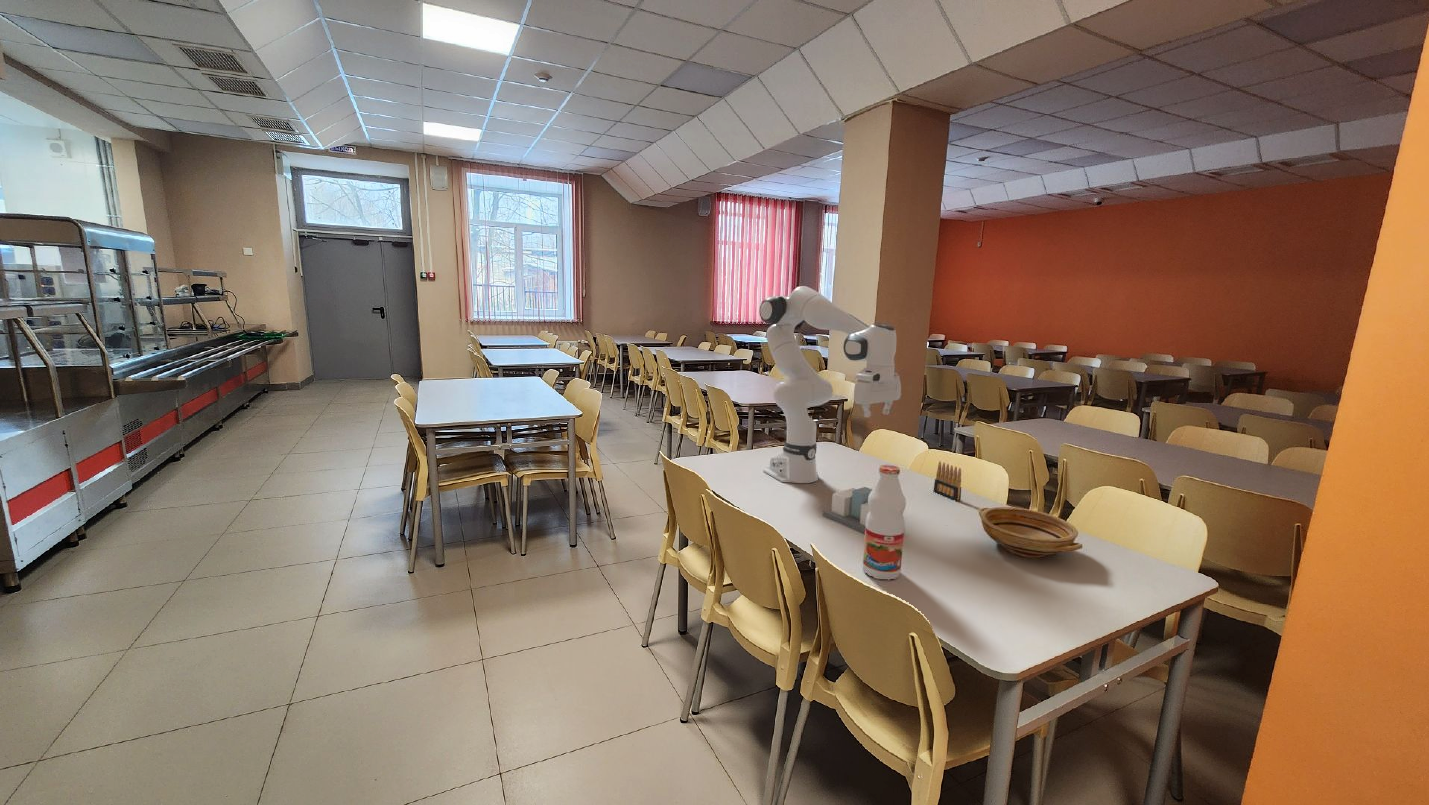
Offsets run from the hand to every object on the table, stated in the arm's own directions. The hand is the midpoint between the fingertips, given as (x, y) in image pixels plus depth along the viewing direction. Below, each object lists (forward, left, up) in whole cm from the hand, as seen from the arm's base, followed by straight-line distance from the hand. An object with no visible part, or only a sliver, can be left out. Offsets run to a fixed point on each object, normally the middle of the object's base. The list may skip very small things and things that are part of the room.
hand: (876, 415), depth 186 cm
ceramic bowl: (+47, +9, -31) cm, 57 cm away
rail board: (+8, -14, -31) cm, 35 cm away
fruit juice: (+33, -37, -31) cm, 59 cm away
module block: (+8, -14, -29) cm, 33 cm away
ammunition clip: (+10, +30, -31) cm, 45 cm away
